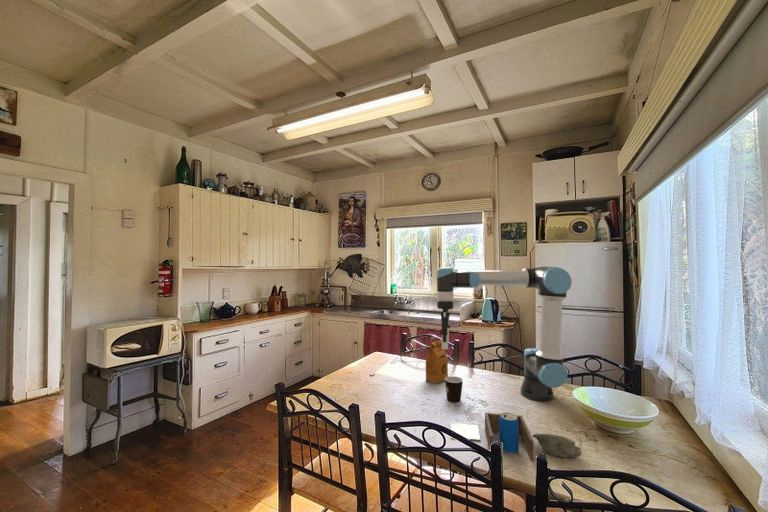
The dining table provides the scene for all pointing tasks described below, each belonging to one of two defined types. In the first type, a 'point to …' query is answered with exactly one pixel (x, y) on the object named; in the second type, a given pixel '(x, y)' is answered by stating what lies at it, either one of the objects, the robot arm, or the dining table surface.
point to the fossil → (558, 445)
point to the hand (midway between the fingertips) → (445, 345)
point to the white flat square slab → (466, 430)
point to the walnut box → (523, 431)
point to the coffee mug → (453, 388)
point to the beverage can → (509, 432)
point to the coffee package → (436, 363)
